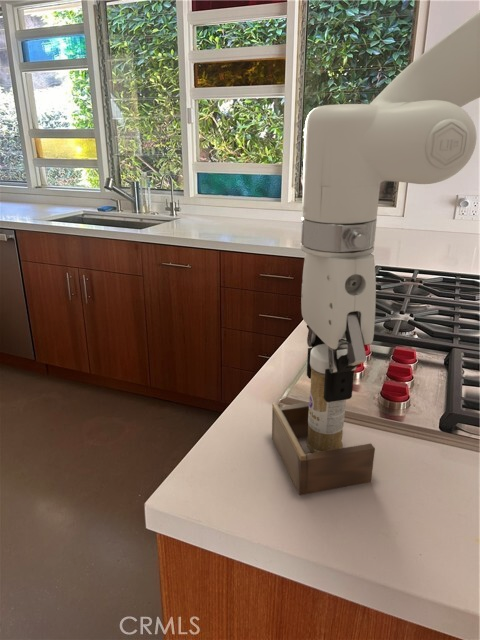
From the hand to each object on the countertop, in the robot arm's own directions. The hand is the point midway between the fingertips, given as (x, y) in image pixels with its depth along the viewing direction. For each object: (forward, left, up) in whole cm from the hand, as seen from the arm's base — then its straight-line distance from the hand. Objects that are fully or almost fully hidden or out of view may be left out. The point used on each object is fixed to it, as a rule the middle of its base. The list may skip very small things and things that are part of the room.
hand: (328, 385), depth 55 cm
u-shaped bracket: (0, 0, -11) cm, 11 cm away
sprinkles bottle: (0, 0, -9) cm, 9 cm away
